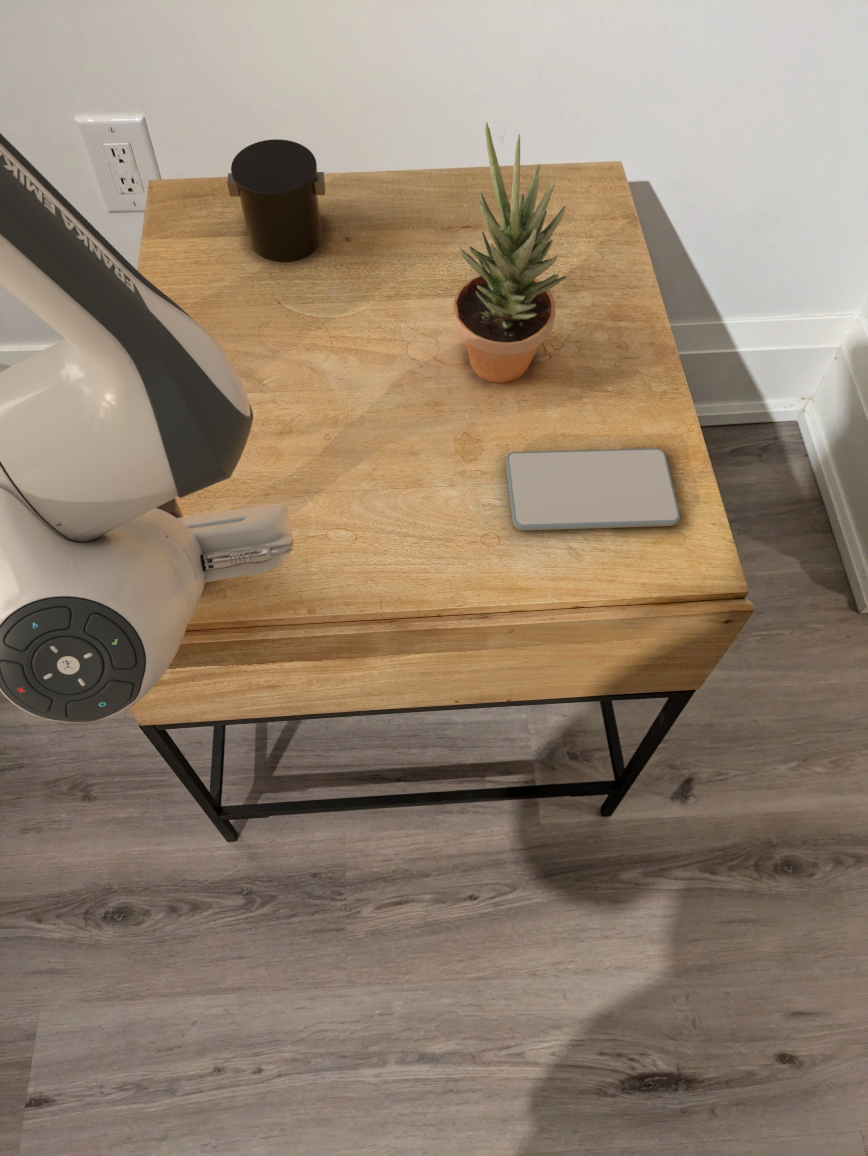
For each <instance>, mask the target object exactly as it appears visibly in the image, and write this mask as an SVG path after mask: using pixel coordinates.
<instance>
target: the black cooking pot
mask: <svg viewBox="0 0 868 1156" xmlns="http://www.w3.org/2000/svg"><path fill="white" fill-rule="evenodd" d="M226 185H227V189H228V194H229V197H230V198H233V197H237V198H239V200H240V205H241V209H242V214H243V219H244V223H245V228H246V233H247V238H248V242H249V245H250V248H251V249H252V250H253V251H254V253H256V255H258V256H259V257H261V258H263V259H265V260H268V261H271V262H272V261H273V262H278V263H288V262H289V263H290V262H295V261H298V260H302V259H305V258H306V257H308V256H310V255H312V254H313V253H314V252H315V251H316V250H317V249H318V248H319V246H320V245H321V243H322V240H323V230H322V229H323V228H322V221H321V214H320V204H319V197H318V196H325V195H326V180H325V172H324V171H318V164H317V160H316V157H315V154H313V152H312V151H311V150H310V149H309V148H308V147H306V146H305V145H303V144H301V143H298V142H296V141H292V140H288V139H281V138H280V139H277V138H276V139H275V138H274V139H265V140H260V141H257V142H254V143H252V144H251V143H250V144H249V145H247V146H245V147H244V148H242V149H241V150H240V151H239V152H238V153H237V154H236V155H235V156H234V158H233V160H232V162H231V166H230V172H229V173H227V179H226Z"/></svg>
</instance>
